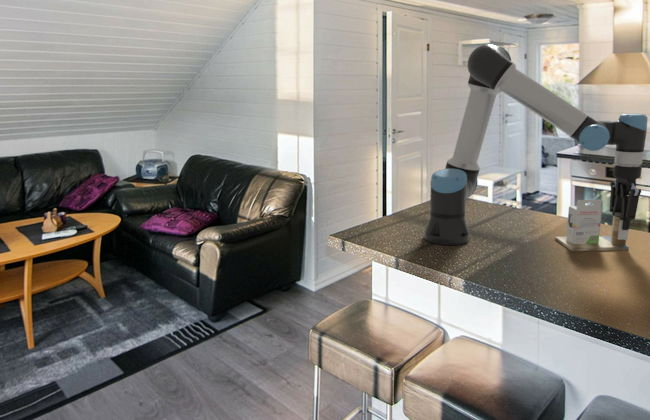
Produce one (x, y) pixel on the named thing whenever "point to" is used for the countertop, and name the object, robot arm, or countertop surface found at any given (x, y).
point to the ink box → (584, 222)
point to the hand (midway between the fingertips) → (619, 237)
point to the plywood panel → (592, 245)
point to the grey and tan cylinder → (616, 229)
